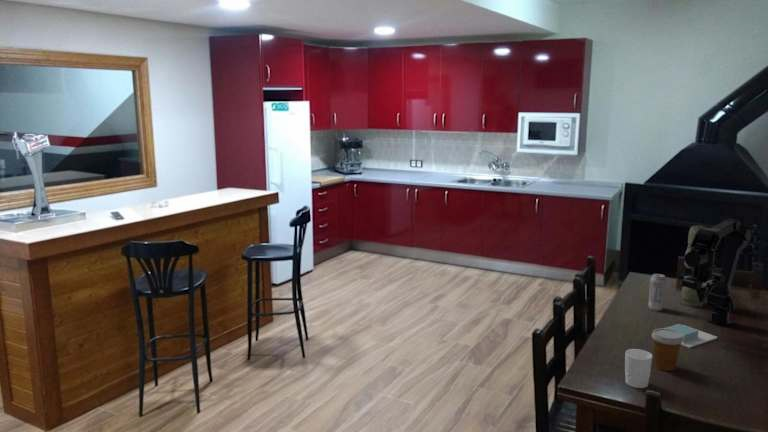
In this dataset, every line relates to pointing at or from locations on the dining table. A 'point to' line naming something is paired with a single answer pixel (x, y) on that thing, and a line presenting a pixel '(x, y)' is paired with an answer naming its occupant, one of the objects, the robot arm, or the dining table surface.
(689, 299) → the thermos
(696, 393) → the dining table surface
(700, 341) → the mat
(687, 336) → the slab
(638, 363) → the white cup
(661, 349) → the disposable coffee cup
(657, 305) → the energy drink can
